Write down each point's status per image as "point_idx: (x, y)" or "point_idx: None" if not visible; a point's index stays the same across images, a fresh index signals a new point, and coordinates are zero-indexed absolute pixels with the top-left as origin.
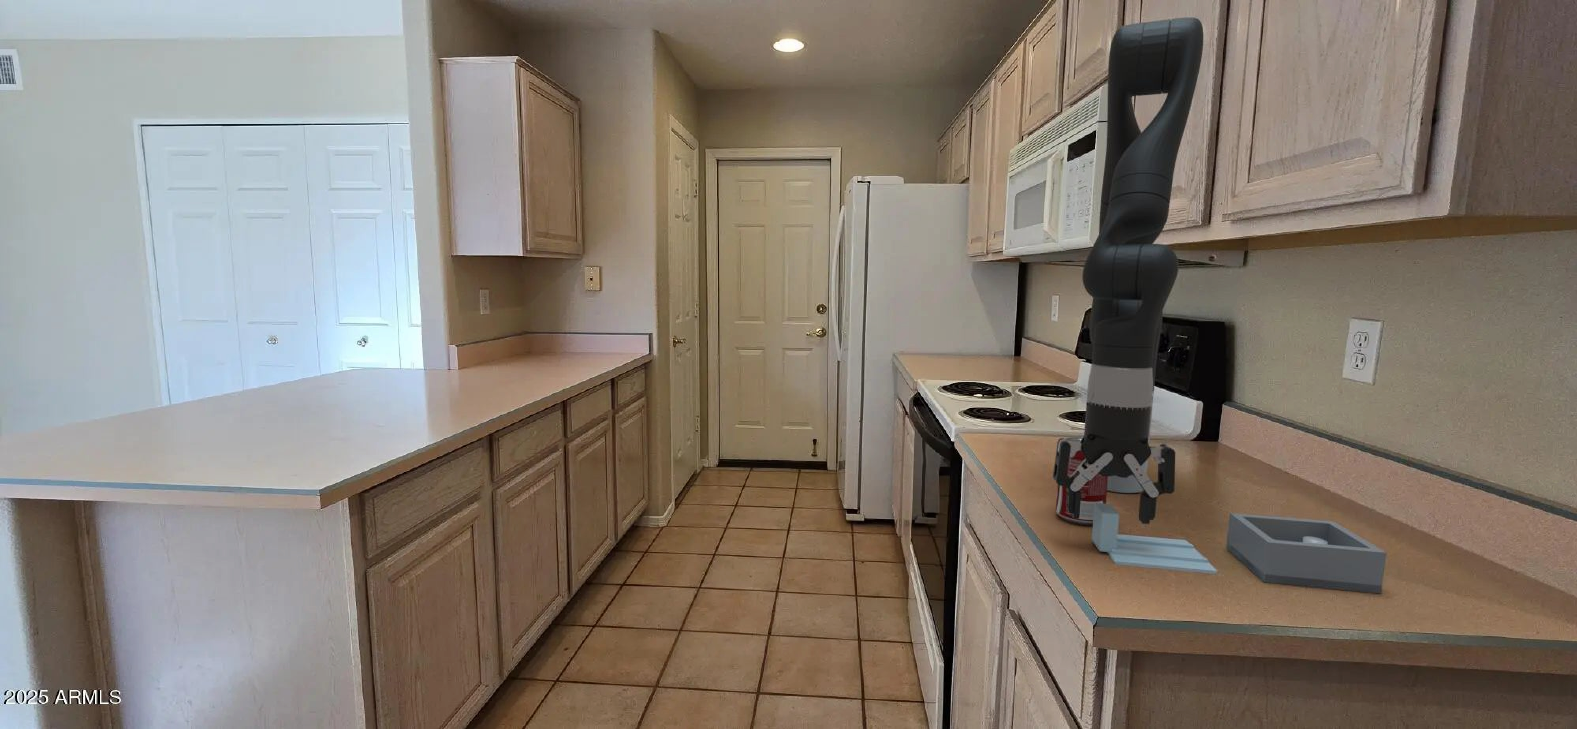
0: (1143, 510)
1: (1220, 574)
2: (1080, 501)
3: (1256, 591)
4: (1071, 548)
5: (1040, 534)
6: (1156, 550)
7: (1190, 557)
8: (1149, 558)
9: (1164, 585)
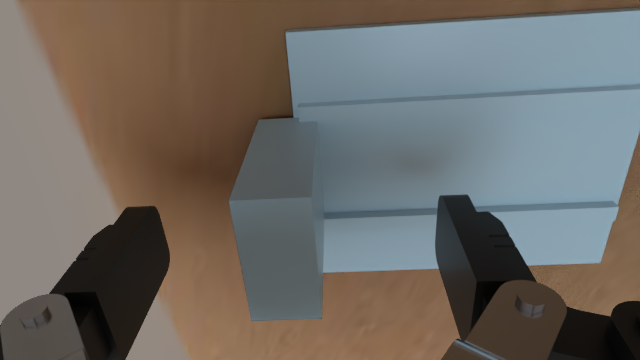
0: (449, 277)
1: (605, 255)
2: (141, 322)
3: None
4: (187, 191)
5: (69, 91)
6: (477, 160)
7: (563, 216)
8: (422, 231)
9: (405, 345)
